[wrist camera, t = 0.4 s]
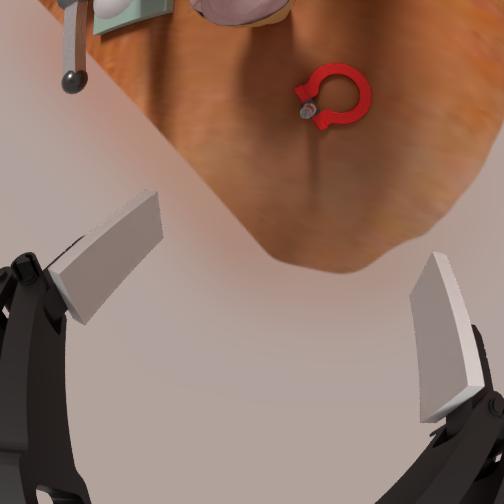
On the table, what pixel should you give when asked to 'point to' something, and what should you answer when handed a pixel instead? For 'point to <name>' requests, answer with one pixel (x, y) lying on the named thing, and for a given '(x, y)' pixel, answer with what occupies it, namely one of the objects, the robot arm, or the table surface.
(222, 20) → the ice cream cone
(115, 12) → the press
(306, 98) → the tow hook
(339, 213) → the table surface
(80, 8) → the lever
